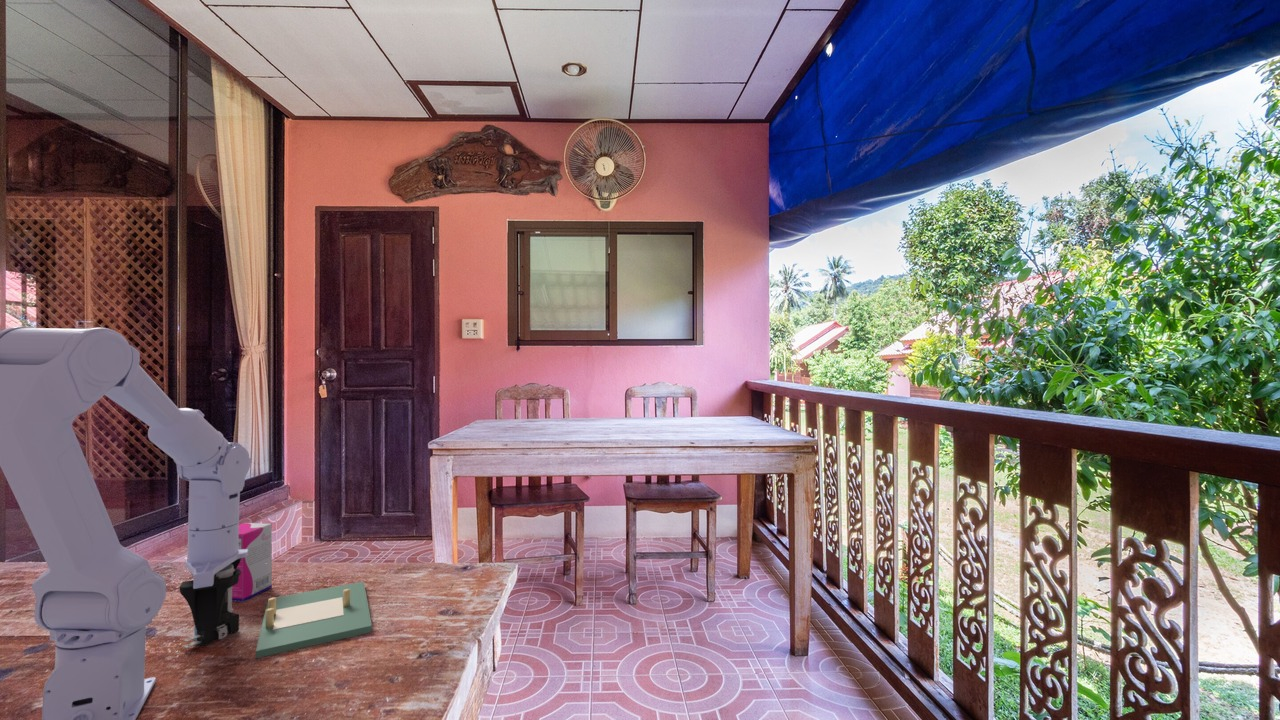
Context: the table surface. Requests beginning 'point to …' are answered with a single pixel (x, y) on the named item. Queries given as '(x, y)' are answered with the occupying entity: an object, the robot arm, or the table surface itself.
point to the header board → (313, 618)
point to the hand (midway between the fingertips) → (211, 619)
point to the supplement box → (254, 561)
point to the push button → (227, 618)
